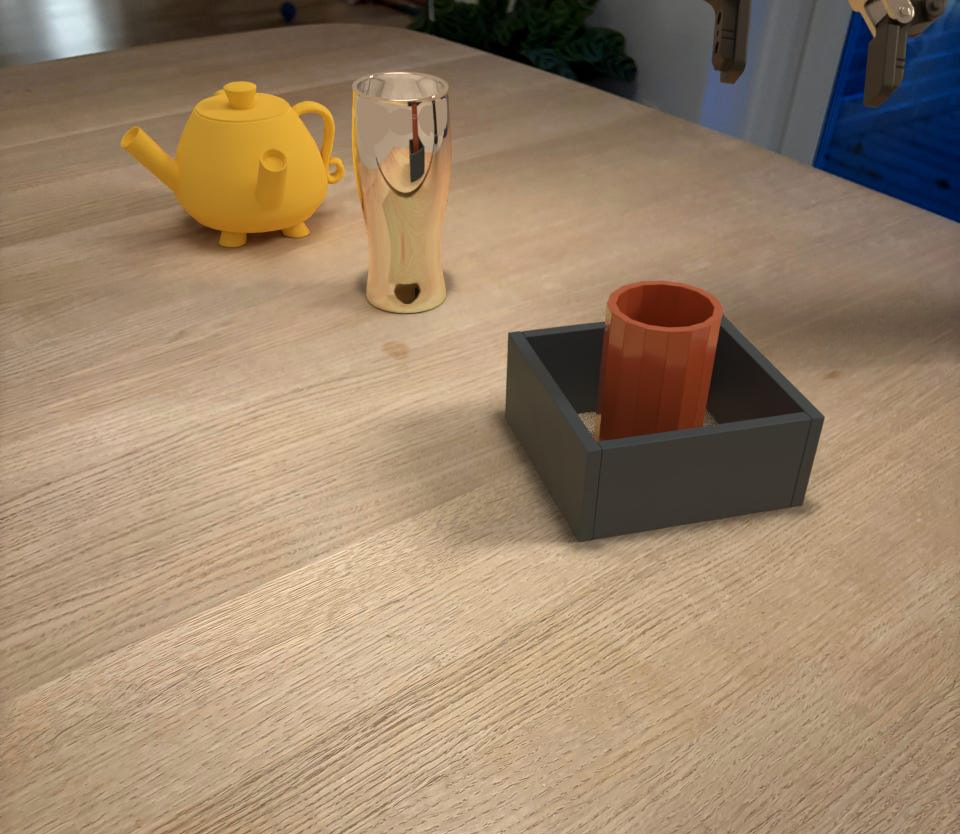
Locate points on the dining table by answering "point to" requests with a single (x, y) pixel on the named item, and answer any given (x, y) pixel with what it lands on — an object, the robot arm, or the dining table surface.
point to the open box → (659, 438)
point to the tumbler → (656, 359)
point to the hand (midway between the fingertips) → (806, 89)
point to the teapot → (245, 163)
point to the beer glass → (403, 184)
